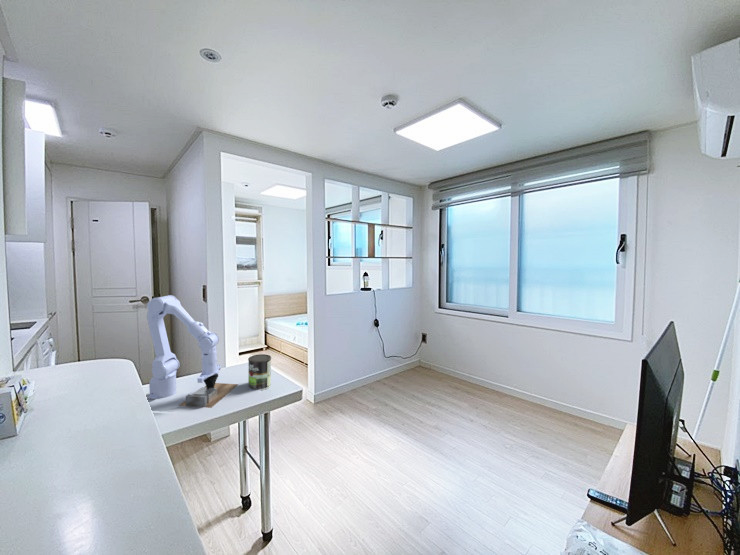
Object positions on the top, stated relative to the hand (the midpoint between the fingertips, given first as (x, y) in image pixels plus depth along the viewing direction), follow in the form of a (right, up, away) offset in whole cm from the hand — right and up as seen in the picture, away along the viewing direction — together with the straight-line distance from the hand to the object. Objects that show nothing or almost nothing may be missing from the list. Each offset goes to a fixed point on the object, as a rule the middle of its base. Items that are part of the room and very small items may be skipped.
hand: (210, 391), depth 133 cm
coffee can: (+18, -2, +12) cm, 21 cm away
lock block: (0, -2, -4) cm, 4 cm away
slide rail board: (0, -2, +1) cm, 2 cm away
